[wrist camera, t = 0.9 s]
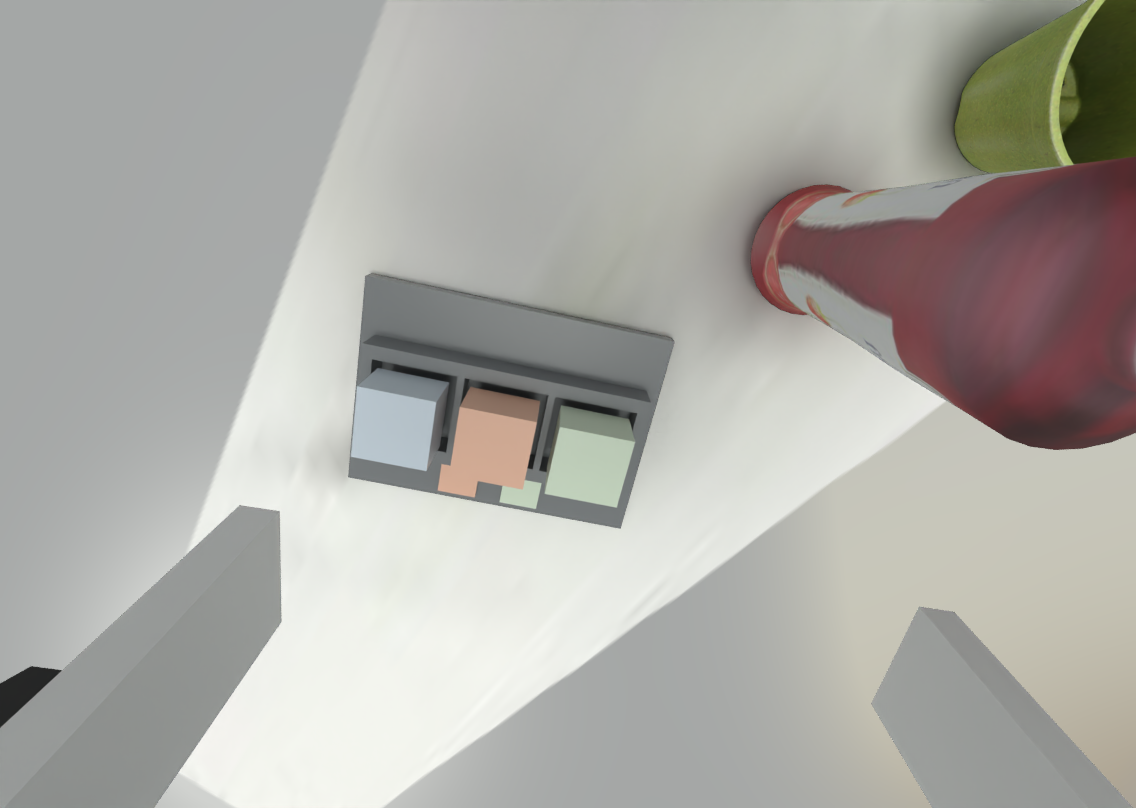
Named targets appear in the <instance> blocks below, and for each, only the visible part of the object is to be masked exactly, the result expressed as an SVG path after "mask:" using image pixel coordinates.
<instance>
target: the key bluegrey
mask: <svg viewBox="0 0 1136 808" xmlns="http://www.w3.org/2000/svg"><path fill="white" fill-rule="evenodd" d="M448 388H449V382H444V381H439V380H435V379H430V378H425V377H420V376H415V375H410V374H405V373H400V372H395V371H390V370H385V369H380V368H377V369H376V370H375V371H374V372H373V373H372V374H370V375H369V376H368V377H367V378H366V379H365V380H364V381H362V382H361V383H360V384H359V385H358V386H357V392H356V404H355V415H354V427H353V438H352V450H351V457H355V458H360V459H365V460H371V461H376V462H381V463H386V464H392V465H397V466H402V467H407V468H412V469H418V470H423V471H427V469H428V468H429V466H430V464H431V462H432V460H433V458H434V456H435V454H436V452H437V451H438V449H439V447H440V442H441V435H442V429H443V422H444V415H445V408H446V402H447V395H448Z"/></svg>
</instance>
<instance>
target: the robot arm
mask: <svg viewBox="0 0 1136 808" xmlns="http://www.w3.org/2000/svg"><path fill="white" fill-rule="evenodd" d="M280 623H281V566H280V511H274V510H268V509H261V508H254V507H247V506H241V505H240V506H239V507H237V508H236V509H235V510H234V511H233V512H232V513H231V514H230V515H229V516H228V517H227V518H226V519H225V520H223V521H222V522H221V523H220V524H219V525H218V526H217V527H216V528H215V529H214V530H213V531H212V532H211V533H209V534H208V535H207V536H206V537H205V538H204V539H203V540H202V541H201V542H200V543H199V544H198V545H197V546H196V547H194V548H193V549H192V550H191V551H190V552H189V553H188V554H187V555H186V556H185V557H184V558H183V559H182V560H180V562H179V563H177V564H176V565H175V566H174V567H173V568H172V569H171V570H170V571H169V572H168V573H166V574H165V575H164V576H163V577H162V578H161V579H160V580H159V581H158V582H157V583H156V584H155V585H154V586H152V587H151V589H149V590H148V591H147V592H146V593H145V594H144V595H143V596H142V597H141V598H140V599H138V600H137V602H135V603H134V604H133V605H132V606H131V607H130V608H129V609H128V610H127V611H126V612H124V613H123V615H121V616H120V617H119V618H118V619H117V620H116V621H115V622H114V623H113V624H112V625H110V626H109V627H108V628H107V629H106V630H105V631H104V632H103V633H102V634H101V635H100V636H99V637H98V638H97V639H95V640H94V641H93V642H92V643H91V644H90V645H89V646H88V647H87V648H86V649H85V650H84V651H83V652H81V653H80V654H79V655H78V656H77V657H76V658H75V659H74V660H73V661H72V662H71V663H70V664H69V665H67V666H66V667H65V668H64V669H63V670H55V669H48V668H40V667H33V666H32V667H29V668H27V669H26V670H24V671H22V672H20V673H18V674H16V675H15V676H13V677H11V678H9V679H8V680H6V681H4V682H2V683H0V808H154V807H155V805H156V804H157V803H158V801H159V800H160V798H161V797H162V795H163V794H164V792H165V791H166V790H167V788H168V787H169V785H170V784H171V782H172V781H173V779H174V778H175V776H176V775H177V774H178V772H179V771H180V769H181V768H182V766H183V765H184V763H185V762H186V760H187V759H188V757H189V756H190V755H191V753H192V752H193V750H194V749H195V747H196V746H197V744H198V743H199V741H200V740H201V738H202V737H203V736H204V734H205V733H206V731H207V730H208V728H209V727H210V725H211V724H212V722H213V721H214V719H215V718H216V717H217V715H218V714H219V712H220V711H221V709H222V708H223V706H224V705H225V703H226V702H227V701H228V699H229V698H230V696H231V695H232V693H233V692H234V690H235V689H236V687H237V686H238V684H239V683H240V682H241V680H242V679H243V677H244V676H245V674H246V673H247V671H248V670H249V668H250V667H251V665H252V664H253V663H254V661H255V660H256V658H257V657H258V655H259V654H260V652H261V651H262V649H263V648H264V646H265V645H266V644H267V642H268V641H269V639H270V638H271V636H272V635H273V633H274V632H275V630H276V629H277V627H278V626H279V625H280ZM871 704H872V706H873V707H874V709H875V711H876V713H877V714H878V716H879V718H880V719H881V721H882V723H883V725H884V726H885V728H886V730H887V731H888V733H889V735H890V736H891V738H892V740H893V742H894V743H895V745H896V747H897V748H898V750H899V752H900V754H901V755H902V757H903V758H904V760H905V762H906V763H907V766H908V767H909V769H910V771H911V772H912V774H913V776H914V778H915V779H916V781H917V782H918V784H919V786H920V788H921V789H922V791H923V793H924V795H925V796H926V798H927V800H928V801H929V803H930V805H931V807H932V808H1133V807H1132V806H1131V805H1130V804H1129V803H1128V801H1127V800H1126V799H1125V798H1124V797H1123V796H1122V795H1121V794H1120V793H1119V792H1118V790H1116V788H1115V787H1114V786H1113V785H1112V784H1111V783H1110V782H1109V781H1108V780H1107V778H1106V777H1105V776H1104V775H1103V774H1102V773H1101V772H1100V771H1099V770H1098V769H1097V768H1096V766H1095V765H1094V764H1093V763H1092V762H1091V761H1090V760H1089V759H1088V758H1087V757H1086V756H1085V755H1084V753H1083V752H1082V751H1081V750H1080V749H1079V748H1078V747H1077V746H1076V745H1075V744H1074V742H1073V741H1072V740H1071V739H1070V738H1069V737H1068V736H1067V735H1066V734H1065V733H1064V731H1063V730H1062V729H1061V728H1060V727H1059V726H1058V725H1057V724H1056V723H1055V722H1054V721H1053V719H1052V718H1051V717H1050V716H1049V715H1048V714H1047V713H1046V712H1045V711H1044V710H1043V708H1042V707H1041V706H1040V705H1039V704H1038V703H1037V702H1036V701H1035V700H1034V699H1033V698H1032V697H1031V695H1030V694H1029V693H1028V692H1027V691H1026V690H1025V689H1024V688H1023V687H1022V686H1021V684H1020V683H1019V682H1018V681H1017V680H1016V679H1015V678H1014V677H1013V676H1012V675H1011V674H1010V673H1009V671H1008V670H1007V669H1006V668H1005V667H1004V666H1003V665H1002V664H1001V663H1000V661H999V660H998V659H997V658H996V657H995V656H994V655H993V654H992V653H991V652H990V651H989V649H988V648H987V647H986V646H985V645H984V644H983V643H982V642H981V641H980V640H979V639H978V637H977V636H976V635H975V634H974V633H973V632H972V631H971V630H970V629H969V628H968V627H967V626H966V625H965V623H964V622H963V621H962V620H961V619H960V618H959V617H958V616H957V615H956V613H955V612H951V611H944V610H938V609H931V608H924V607H919V608H918V610H917V612H916V614H915V616H914V618H913V620H912V622H911V625H910V627H909V629H908V631H907V632H906V635H905V637H904V639H903V641H902V643H901V645H900V647H899V649H898V651H897V653H896V655H895V657H894V659H893V661H892V663H891V665H890V667H889V669H888V671H887V673H886V675H885V677H884V679H883V681H882V683H881V685H880V687H879V689H878V691H877V693H876V695H875V697H874V699H873V701H872V703H871Z"/></svg>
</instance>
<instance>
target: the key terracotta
mask: <svg viewBox="0 0 1136 808" xmlns="http://www.w3.org/2000/svg"><path fill="white" fill-rule="evenodd" d="M539 406H540V401H538V400H533V399H528V398H523V397H518V396H513V395H508V394H503V393H498V392H494V391H489V390H484V389H479V388H474V387H470V389H469V390H468V392H467V394H466V396H465V398H464V400H463V402H462V404H461V405H460V408H459V415H458V421H457V427H456V434H455V440H454V447H453V453H452V459H451V466H450V472H449V476H454V477H459V478H465V479H470V480H475V481H480V482H485V483H491V484H496V485H501V486H506V487H512V488H517V489H522V490H523V486H524V481H525V477H526V472H527V467H528V462H529V458H530V453H531V448H532V444H533V439H534V434H535V429H536V425H537V419H538V412H539Z"/></svg>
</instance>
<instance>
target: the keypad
mask: <svg viewBox="0 0 1136 808" xmlns="http://www.w3.org/2000/svg"><path fill="white" fill-rule="evenodd" d="M673 345H674V340H673V339H672V338H670V337H665V336H661V335H656V334H652V333H647V332H642V331H638V330H633V329H628V328H624V327H619V326H614V325H610V324H605V323H600V322H596V321H591V320H586V319H582V318H577V317H572V316H568V315H563V314H558V313H554V312H549V311H544V310H540V309H535V308H531V307H526V306H521V305H517V304H512V303H507V302H503V301H498V300H493V299H489V298H484V297H479V296H475V295H470V294H465V293H461V292H456V291H451V290H447V289H442V288H437V287H433V286H428V285H424V284H419V283H414V282H410V281H405V280H400V279H396V278H391V277H386V276H382V275H377V274H372V273H371V274H368V275H366V276H365V288H364V300H363V311H362V323H361V335H360V346H359V358H358V369H357V381H356V392H357V386H358V385H359V384H360V383H361V382H362V381H364V380H365V379H366V378H367V377H368V376H369V375H370V374H372V373H373V372H374V371H375V370H376V369H377V368H380V369H385V370H390V371H395V372H400V373H405V374H410V375H415V376H420V377H425V378H430V379H435V380H439V381H444V382H449V388H448V395H447V402H446V408H445V415H444V422H443V429H442V435H441V442H440V447H439V449H438V451H437V452H436V454H435V456H434V458H433V460H432V462H431V464H430V466H429V468H428V469H427V471H423V470H418V469H412V468H407V467H402V466H397V465H392V464H386V463H381V462H376V461H371V460H365V459H360V458H355V457H351V451H350V463H349V474H348V477H350V478H355V479H361V480H366V481H371V482H377V483H382V484H387V485H393V486H398V487H403V488H408V489H414V490H419V491H424V492H430V493H435V494H440V495H445V496H451V497H456V498H461V499H467V500H472V501H477V502H482V503H488V504H493V505H498V506H504V507H509V508H514V509H520V510H525V511H530V512H535V513H541V514H546V515H551V516H557V517H562V518H567V519H572V520H578V521H583V522H588V523H594V524H599V525H604V526H609V527H615V528H621V525H622V522H623V518H624V515H625V511H626V508H627V504H628V501H629V497H630V494H631V490H632V487H633V484H634V480H635V477H636V473H637V470H638V466H639V463H640V459H641V456H642V452H643V449H644V446H645V442H646V439H647V435H648V432H649V428H650V425H651V421H652V418H653V415H654V411H655V408H656V404H657V401H658V397H659V394H660V390H661V387H662V383H663V380H664V377H665V373H666V370H667V366H668V363H669V359H670V356H671V352H672V349H673ZM470 387H474V388H479V389H484V390H489V391H494V392H498V393H503V394H508V395H513V396H518V397H523V398H528V399H533V400H538V401H540V406H539V412H538V419H537V425H536V429H535V434H534V439H533V444H532V448H531V453H530V458H529V462H528V467H527V472H526V477H525V481H524V486H523V490H522V489H517V488H512V487H506V486H501V485H496V484H491V483H485V482H480V481H475V480H470V479H465V478H459V477H454V476H449V472H450V466H451V459H452V453H453V447H454V440H455V434H456V427H457V421H458V415H459V408H460V405H461V404H462V402H463V400H464V398H465V396H466V394H467V392H468V390H469V389H470ZM355 404H356V393H355ZM355 404H354V415H355ZM561 405H562V406H567V407H572V408H577V409H582V410H587V411H592V412H597V413H602V414H607V415H612V416H617V417H621V418H626V419H629V421H630V424H631V428H632V432H633V436H634V439H635V445H634V448H633V452H632V455H631V459H630V462H629V466H628V469H627V473H626V476H625V480H624V483H623V487H622V491H621V494H620V498H619V501H618V505H617V508H616V507H611V506H606V505H600V504H595V503H590V502H585V501H579V500H574V499H569V498H564V497H559V496H553V495H548V494H545V484H546V473H547V465H548V460H549V456H550V451H551V447H552V443H553V438H554V434H555V429H556V425H557V420H558V416H559V411H560V407H561ZM353 427H354V416H353ZM352 438H353V428H352ZM351 450H352V439H351Z"/></svg>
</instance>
